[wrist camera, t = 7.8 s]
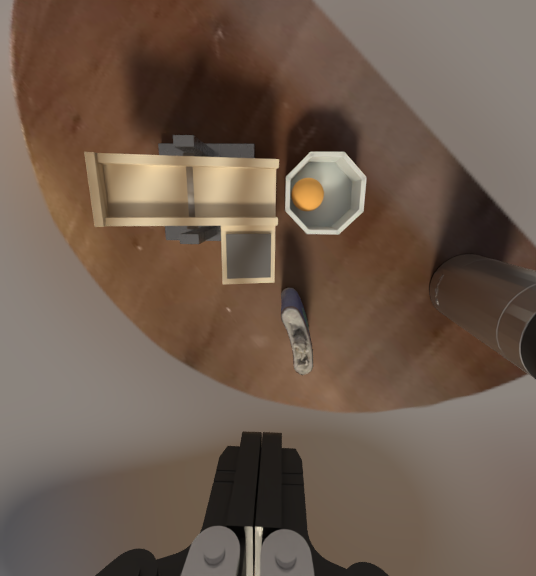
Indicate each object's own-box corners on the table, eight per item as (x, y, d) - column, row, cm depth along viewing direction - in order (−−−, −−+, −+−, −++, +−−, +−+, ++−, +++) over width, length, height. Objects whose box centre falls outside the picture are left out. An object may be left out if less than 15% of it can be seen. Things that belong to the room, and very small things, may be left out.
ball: (320, 176, 35) (287, 176, 37) (318, 212, 36) (286, 211, 38) (328, 178, 39) (297, 179, 40) (326, 211, 40) (296, 210, 41)
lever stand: (254, 145, 39) (245, 125, 29) (255, 240, 43) (246, 252, 32) (161, 145, 40) (120, 125, 30) (169, 238, 43) (134, 250, 33)
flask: (278, 288, 44) (278, 315, 34) (298, 284, 44) (304, 309, 34) (293, 345, 47) (297, 386, 36) (312, 341, 46) (322, 381, 36)
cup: (357, 158, 39) (368, 151, 34) (351, 230, 42) (361, 234, 36) (285, 158, 40) (286, 151, 34) (284, 229, 42) (284, 233, 37)
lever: (274, 157, 34) (280, 152, 31) (272, 280, 37) (277, 287, 34) (95, 151, 31) (83, 145, 28) (113, 285, 34) (104, 293, 31)
